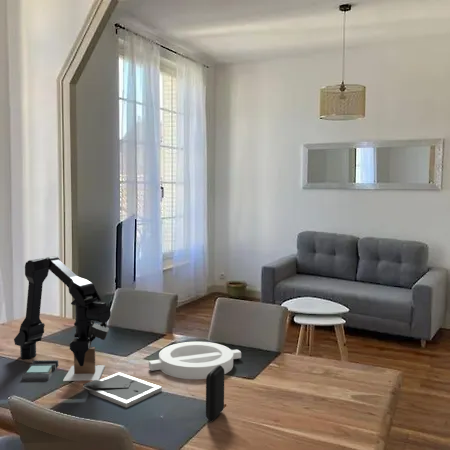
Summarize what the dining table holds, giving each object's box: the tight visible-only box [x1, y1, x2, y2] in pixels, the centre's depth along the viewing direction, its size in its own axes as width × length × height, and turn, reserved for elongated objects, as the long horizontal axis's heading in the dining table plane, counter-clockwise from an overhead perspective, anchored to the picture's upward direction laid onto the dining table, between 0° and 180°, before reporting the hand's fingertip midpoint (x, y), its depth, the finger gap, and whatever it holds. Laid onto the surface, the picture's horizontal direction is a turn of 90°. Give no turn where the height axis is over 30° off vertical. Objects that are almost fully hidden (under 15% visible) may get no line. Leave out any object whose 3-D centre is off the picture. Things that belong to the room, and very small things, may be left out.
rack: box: [20, 359, 59, 382], centre depth 183 cm, size 14×9×3 cm, turn 4°
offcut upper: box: [26, 366, 52, 373], centre depth 181 cm, size 6×7×1 cm
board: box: [62, 364, 106, 382], centre depth 183 cm, size 14×12×1 cm
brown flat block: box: [73, 346, 96, 374], centre depth 183 cm, size 2×7×9 cm, turn 94°
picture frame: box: [82, 371, 163, 408], centre depth 170 cm, size 16×3×21 cm
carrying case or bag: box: [205, 365, 225, 422], centre depth 153 cm, size 11×3×15 cm, turn 159°
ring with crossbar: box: [148, 341, 242, 380], centre depth 195 cm, size 28×28×5 cm
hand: (84, 361), depth 183 cm, fingers open, 9 cm apart
